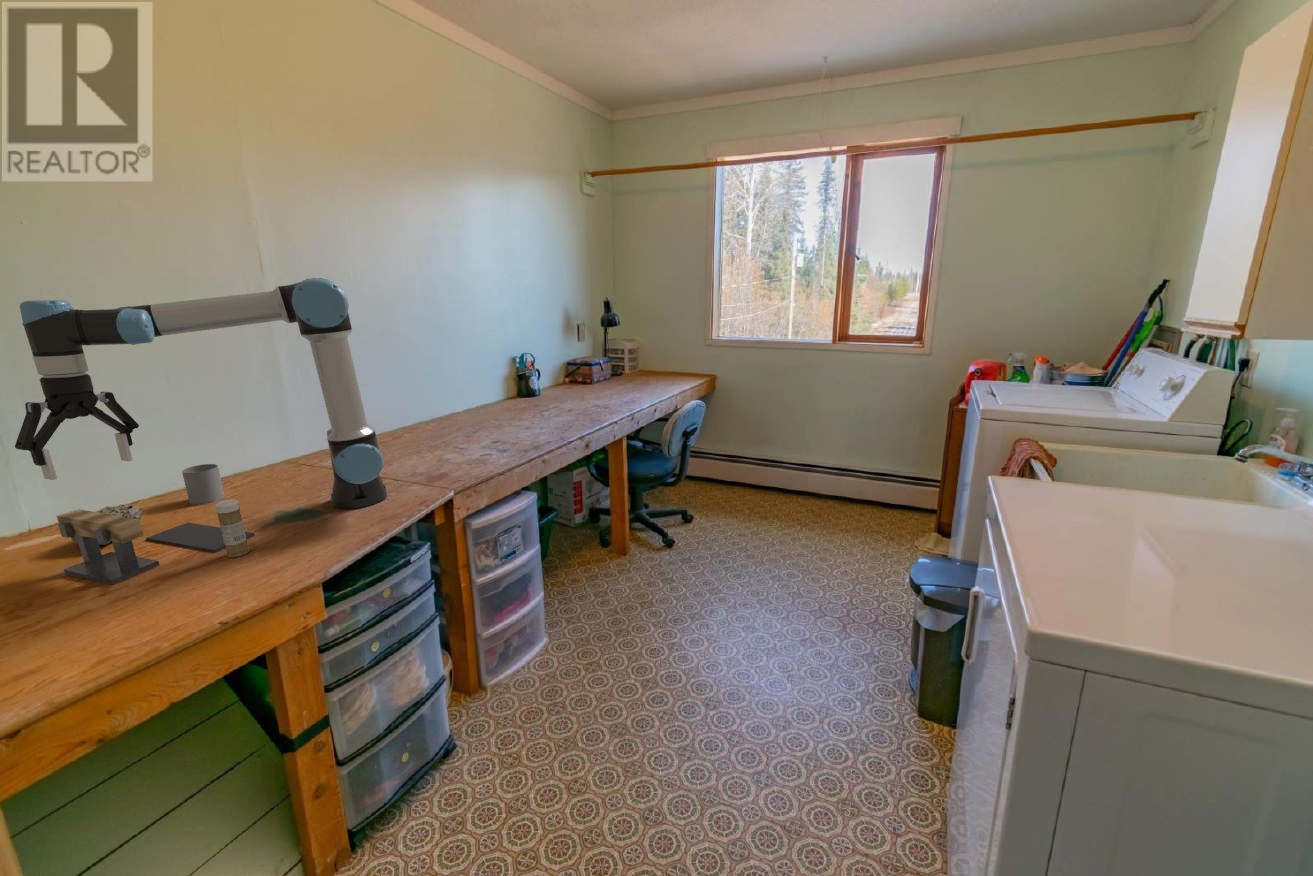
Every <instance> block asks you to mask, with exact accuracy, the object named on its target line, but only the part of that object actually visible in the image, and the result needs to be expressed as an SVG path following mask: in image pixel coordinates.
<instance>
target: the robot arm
mask: <svg viewBox="0 0 1313 876" xmlns="http://www.w3.org/2000/svg"><path fill="white" fill-rule="evenodd" d="M349 305H350V304H349V299H348V297H347V295H346V293H345V291H344V290H343V289H342V288H341V287H340V286H339V285H337V283H335V282H333V281H331V280H329V279H326V278H323V277H311V278H306V279H304V280H302V281H299V282H296V283H292V284H287V285H279V286H278V285H277V286H276V287H275V288H274V289H273V290H270V291H269V290H268V291H261V292H253V293H244V294H234V295H233V294H232V295H224V296H223V295H222V296H218V297H217V296H216V297H207V298H198V299H196V298H195V299H187V300H179V301H170V302H162V303H152V304H145V305H144V304H143V305H134V306H122V307H117V308H111V309H109V308H108V309H107V308H106V309H103V308H102V309H78V308H77V309H75V308H74V307H73V306H72V303H71V302H70V301H68V300H64V299H63V300H61V299H60V300H56V299H55V300H51V299H50V300H42V299H39V300H38V299H37V300H25V301H24V300H23V301H22V302H21V303H20V305H19V311H20V315H21V319H22V323H21V324H22V326H23V327H24V328H23V329H24V331H25V334H26V338H27V341H28V344H29V348H30V350H31V354H32V359H33V361H34V365H35V369H36V372H37V374H38V375H39V376H42V377H40V379H39V383H40V386H41V389H42V394H43V395H44V399H45V400H44V401H43V402H40V401H39V402H33V401H32V402H31V401H28V402H25V405H24V406H25V413H26V414H25V416H24V419H23V422H22V425H21V427H20V430H19V433H18V435H17V439H16V442H15V444H14V448H15V449H16V450H21V451H29V452H30V454H31V457H32V461H33V464H34V465H35V466H39V467H41V471H42V474H43V478H44V479H45V480H49V481H55V480H58V477H57V473H56V470H55V467H54V463H53V460H52V456H51V453H50V450H49V449H47V448H45V446H46V445H47V443H49V441H50V439H51V438H52V436H53V435H54V434H55V432H56V431H57V429H58V427H60V425H61V424H62V423H63V422H64V421H65V420H68V419H69V420H73V419H77V418H79V417H80V418H82V417H88V416H92V417H94V418H95V419H97V420H99V421H100V422H102V423H104V424H105V425H107V426H109V427H110V428H113V429H114V430H115V431H117V432H116V433H114V437H115V441H116V446H117V449H118V453H119V457H120V460H121V461H123V462H132V461H133V460H134V459H133V456H132V453H131V449H130V447H132V446H133V440H132V436H131V434H132V433H133V432H134V429H138V428H139V427H140V425H139V423H138V422H137V421H136V420H135V419H134V418H133V417H132V416H131V414H129V413H128V412H127V410H125V409H124V408H123V407H122V405H120V404H119V402H118V401H117V400H116V397H115V394H114V393H113V392H111V391H100V392H99V393H97V394H96V393H95V391H94V386H93V385H94V384H93V381H92V377H91V375H90V374H89V373H87V372H89V366H88V363H87V359H86V357H85V356H86V355H85V351H84V347H83V346H100V345H104V346H106V345H107V346H108V345H131V346H132V345H139V344H150V343H152V342H154V339H155V338H156V337H163V336H171V335H178V334H179V335H180V334H186V333H192V332H193V333H195V332H201V331H210V330H217V329H224V328H231V327H240V326H247V325H253V324H254V325H256V324H261V323H262V324H263V323H270V322H271V323H272V322H278V321H284V322H285V323H288V324H294V323H297V324H298V325H297V326H298V329H299V330H298V331H299V333H300V336H302V338H304V339H305V340H307V341H308V342H309V344H310V349H311V353H312V357H313V360H314V364H315V367H316V371H317V377H318V380H319V384H320V388H321V392H322V396H323V400H324V404H325V408H326V412H327V415H328V421H329V424H330V428H329V429H328V430H327V432H326V440H327V444H328V451H329V455H330V461H331V467H332V472H333V473H332V474H333V479H334V480H333V483H332V492H331V494H330V502H331V505H332V507H334V508H337V509H358V508H365V507H369V506H372V505H375V504H378V503H380V502H382V501H384V500H386V499H387V497H388V489H387V487H386V485H385V484H384V482H383V479H382V478H381V476H380V474H381V472H382V470H383V468H384V461H385V460H384V455H383V453H382V452H381V450H380V447H379V442H378V441H379V440H378V437H377V435H376V433H377V432H376V429H375V428H374V427H372V426H370V425H369V424H368V422H367V417H366V413H365V409H364V404H363V400H362V396H361V390H360V387H359V383H358V378H357V374H356V370H355V365H354V361H353V357H352V353H351V348H350V344H349V339H348V337H349V335H350V334H351V333H352V331H353V328H352V324H351V319H350V313H349V307H350V306H349ZM98 401H99V402H101V403H102V404H104V405H105V406H106V407H107V408H108V409H109V411H110V412H112V414H114V415H115V417H117V418H118V420H119V421H118V420H117V419H115V418H113V417H112V416H111V415H109V414H107V413H106V412H104V411H103V410H102V409H100V408H98V407H97V406H96V405H97V404H98ZM45 409H47V410H49V411H50V412H49V414H48V415H47V417H46V420H45V421H44V422H43V424H42V425H41V427H40V428H39V430H38V431H37V429H38V427H39V423H40V420H41V417H42V413H44V412H45ZM121 422H122V423H121Z"/></svg>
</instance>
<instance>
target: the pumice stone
mask: <svg viewBox="0 0 1313 876" xmlns="http://www.w3.org/2000/svg"><path fill="white" fill-rule="evenodd" d="M96 512H99V513H105V514H111V515H117V516H123V517H129V518H135V519H139V520H140V521H141V519H142V517H143V515H142V512H143V508H142V507H138V506H136V505H133V504H132V505H131V504H119V505H116V506H105V507H103V508H101V509H100V510H97V511H96ZM69 538H70V539H71V541H72V542H75V543H77V544H78V541H77V538H76V535H74V534H73V536H72V537H69ZM97 541H98V540H97ZM98 545H100V544H99V543H98Z"/></svg>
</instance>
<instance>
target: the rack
mask: <svg viewBox="0 0 1313 876" xmlns="http://www.w3.org/2000/svg"><path fill="white" fill-rule="evenodd" d="M57 526H58V529H59V532H60V535H61V537H62V538H67V539H68V538H70V537H72V536H73V532H72V529H71V526H70V523H60V524H59V523H58V524H57ZM95 533H96V537H97V539H96V538H90V537H85V536H79V535H76V538H77V541H78V543H77V544H78V547H79V550H80V554H81V556H82V560H83V562H80V563H78V564H75V565H72V566H70V567H67V568H64V569H63V573H64V575H66V576H69V577H70V576H71V577H76V578H81V579H83V580H84V579H85V580H89V581H95V582H99V583H103V582H104V583H105V584H108V583H109V584H108V585H112V584H113V586H114V585H116V584H115V583H117V584H119V583H121V582H124V581H126V580H128V578H129V579H131V578H133V577H135V576H138V575H140V574H142V572H143V573H145V572H147V571H149V570H152V569H154V568H156V567H159V566H160V562H159V560H156V559H151V558H146V557H142V556H137V555H136V552H135V551H136V550H135V548H134V545H133V541H132V540H131V541H128V542H125V543H118V542H112V541H110V539H109V536H108V533H107V530H104V529H99V530H96V531H95ZM97 540H98V541H97ZM111 542H112V546H113V549H114V551H109V552H107V553H105V554H102V552H101V549H100V545H105V546H106V545H108V544H110V543H111ZM98 543H99V544H98ZM139 573H140V574H139ZM130 577H131V578H130ZM118 582H119V583H118ZM104 583H103V584H104Z"/></svg>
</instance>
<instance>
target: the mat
mask: <svg viewBox="0 0 1313 876" xmlns="http://www.w3.org/2000/svg"><path fill="white" fill-rule="evenodd" d="M245 534H246V540H247V539H249V538H252V537H254V536H255V535H256V533H255V532H249V531H245ZM145 539H146V541H149V542H150V541H151V542H155V543H159V544H160V543H161V544H167V545H171V546H178V547H184V548H190V549H194V550H201V551H207V552H211V553H218V552H220V551H222V550H224V549H225V550H226V547H225V544H224V540H223V536H222V532H221V527H218V526H213V525H205V524H201V523H199V524H198V523H193V522H185V523H182V524H180V525H176V526H174V527H172V528H169V529H166V530H164V531H162V532H158V533H156V534H153V535H150V536H148V537H146V538H145Z"/></svg>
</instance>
